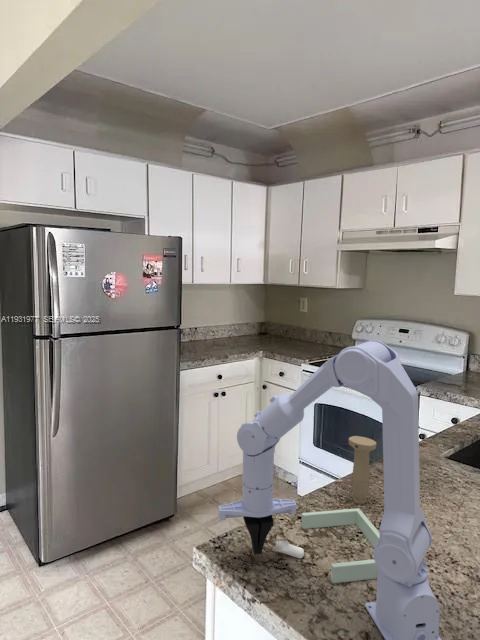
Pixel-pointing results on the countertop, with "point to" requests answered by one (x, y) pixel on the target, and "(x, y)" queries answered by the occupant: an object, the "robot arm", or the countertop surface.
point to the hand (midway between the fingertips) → (256, 551)
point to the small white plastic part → (289, 549)
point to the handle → (361, 467)
